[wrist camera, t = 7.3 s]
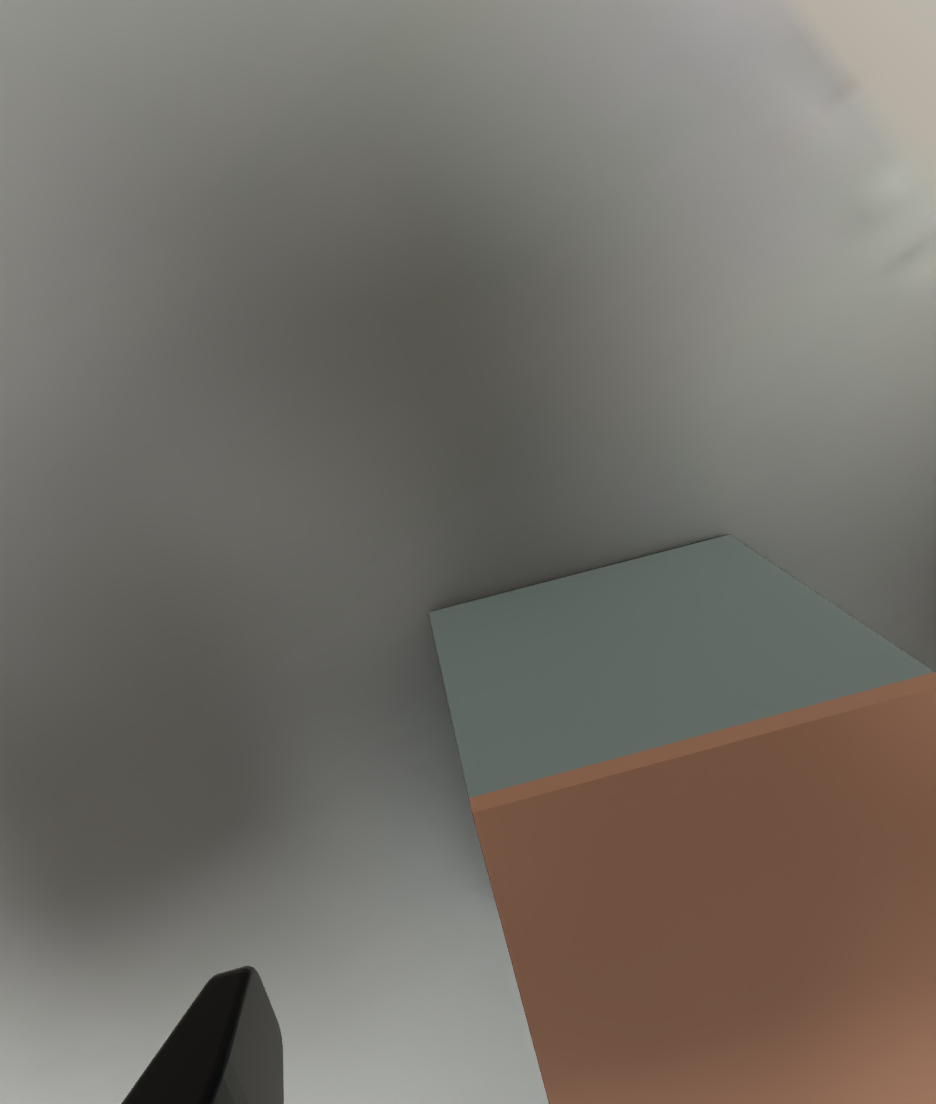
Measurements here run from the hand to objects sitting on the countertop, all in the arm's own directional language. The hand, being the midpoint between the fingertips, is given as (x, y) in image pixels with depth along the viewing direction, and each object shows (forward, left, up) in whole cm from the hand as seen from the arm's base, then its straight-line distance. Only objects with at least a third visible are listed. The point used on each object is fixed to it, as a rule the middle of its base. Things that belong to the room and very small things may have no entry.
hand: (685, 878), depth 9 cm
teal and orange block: (0, 0, -3) cm, 3 cm away
